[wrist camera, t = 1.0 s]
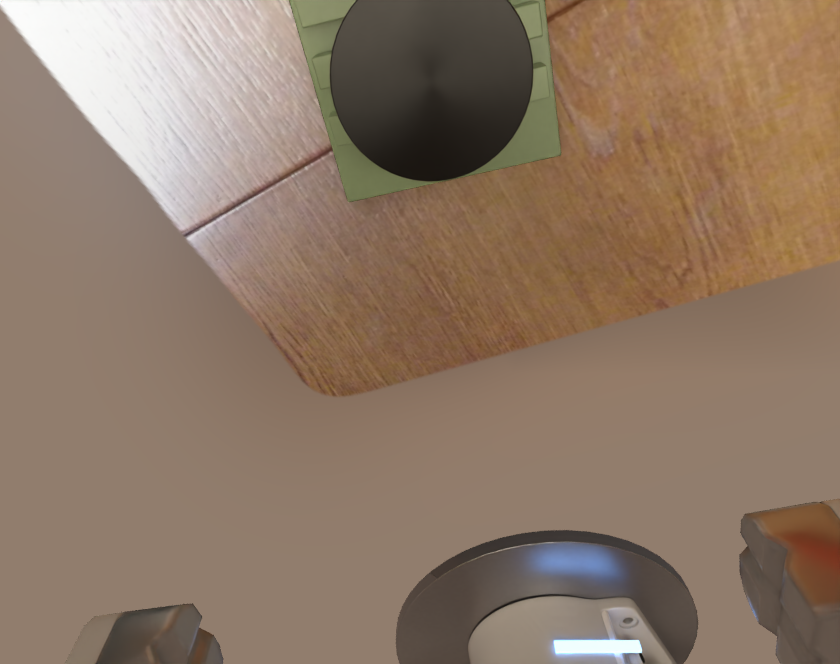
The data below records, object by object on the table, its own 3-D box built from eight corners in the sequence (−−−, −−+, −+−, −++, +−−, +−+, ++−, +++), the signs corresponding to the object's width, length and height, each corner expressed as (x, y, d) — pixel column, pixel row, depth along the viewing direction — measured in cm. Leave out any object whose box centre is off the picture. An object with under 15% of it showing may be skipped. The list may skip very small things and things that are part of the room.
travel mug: (526, 51, 30) (574, 88, 21) (421, 149, 32) (424, 219, 23) (431, -74, 27) (440, -93, 18) (324, 42, 29) (286, 75, 21)
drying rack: (558, 150, 35) (578, 177, 30) (349, 197, 36) (340, 228, 32) (523, -160, 28) (544, -183, 23) (266, -89, 29) (240, -99, 25)
